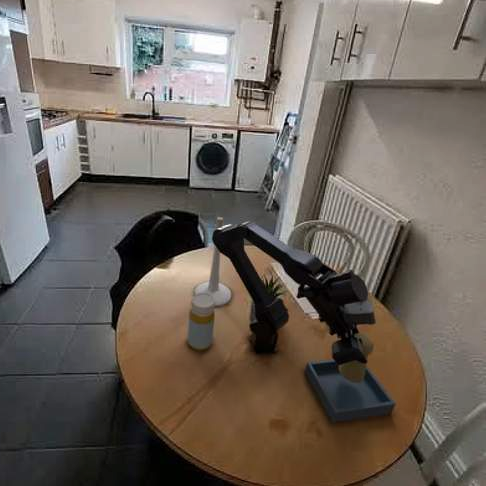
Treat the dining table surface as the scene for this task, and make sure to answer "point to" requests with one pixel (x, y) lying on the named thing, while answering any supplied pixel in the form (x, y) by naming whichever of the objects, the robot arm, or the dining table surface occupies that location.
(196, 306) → the bottle
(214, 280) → the candlestick
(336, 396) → the tray
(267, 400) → the dining table surface
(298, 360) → the dining table surface
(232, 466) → the dining table surface
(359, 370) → the wooden peg doll
